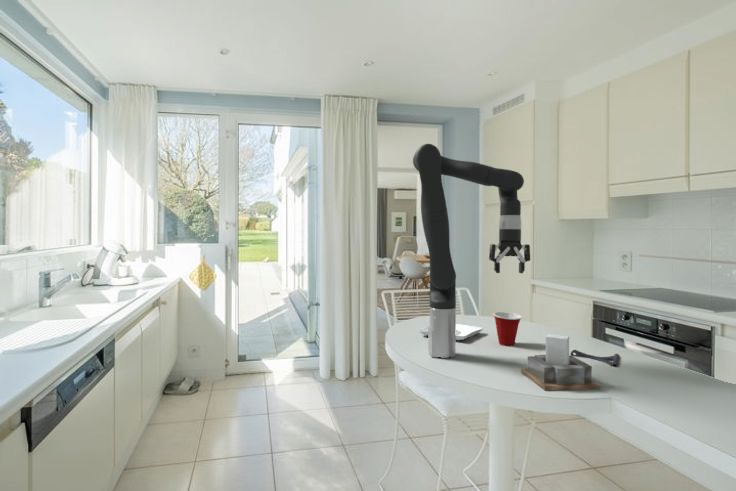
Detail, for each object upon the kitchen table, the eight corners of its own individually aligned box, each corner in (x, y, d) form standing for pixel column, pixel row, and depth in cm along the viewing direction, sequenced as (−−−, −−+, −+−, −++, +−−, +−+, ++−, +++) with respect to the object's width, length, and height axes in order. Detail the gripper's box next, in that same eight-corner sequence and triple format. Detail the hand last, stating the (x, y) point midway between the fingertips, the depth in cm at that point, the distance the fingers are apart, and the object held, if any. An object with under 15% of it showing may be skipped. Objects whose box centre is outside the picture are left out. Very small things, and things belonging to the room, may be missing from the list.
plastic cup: (512, 349, 164) (512, 317, 164) (487, 344, 172) (487, 313, 172) (526, 344, 171) (527, 314, 171) (502, 339, 179) (502, 310, 179)
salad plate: (439, 328, 202) (439, 321, 202) (484, 334, 190) (484, 326, 190) (417, 337, 185) (417, 329, 185) (464, 344, 173) (464, 336, 172)
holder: (544, 390, 121) (545, 370, 121) (520, 372, 137) (521, 354, 137) (600, 389, 122) (600, 368, 122) (569, 371, 138) (570, 353, 138)
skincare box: (569, 375, 130) (569, 336, 130) (567, 379, 126) (567, 338, 126) (547, 372, 133) (548, 333, 133) (545, 376, 130) (545, 336, 129)
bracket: (573, 352, 162) (573, 345, 162) (619, 358, 154) (619, 350, 154) (568, 362, 150) (568, 354, 150) (617, 369, 142) (617, 361, 142)
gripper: (494, 227, 153) (493, 274, 153) (533, 228, 153) (533, 274, 154) (487, 228, 160) (486, 272, 161) (525, 228, 161) (524, 272, 161)
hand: (509, 273), depth 157 cm, fingers open, 8 cm apart
